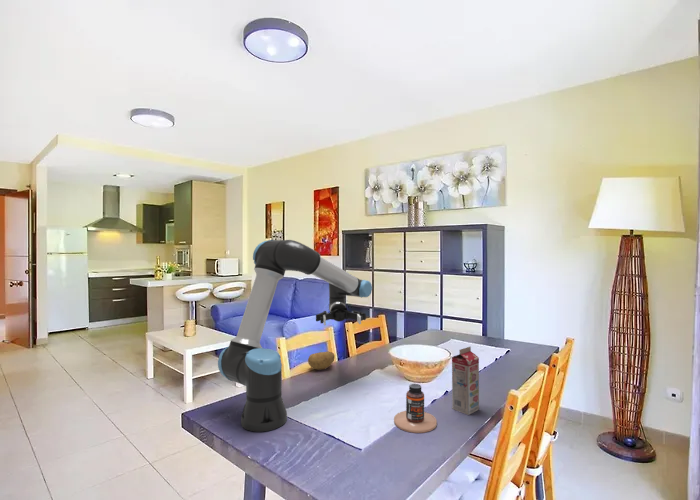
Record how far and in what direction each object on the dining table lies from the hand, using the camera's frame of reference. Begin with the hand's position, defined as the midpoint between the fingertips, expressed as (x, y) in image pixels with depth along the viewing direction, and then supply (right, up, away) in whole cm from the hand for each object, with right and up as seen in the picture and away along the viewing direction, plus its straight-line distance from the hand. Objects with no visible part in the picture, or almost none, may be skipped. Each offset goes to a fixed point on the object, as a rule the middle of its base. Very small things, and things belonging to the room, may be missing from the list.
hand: (342, 321), depth 145 cm
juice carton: (+44, -30, -10) cm, 54 cm away
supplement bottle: (+25, -29, -19) cm, 43 cm away
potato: (-11, -30, +36) cm, 48 cm away
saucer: (+25, -30, -20) cm, 43 cm away
